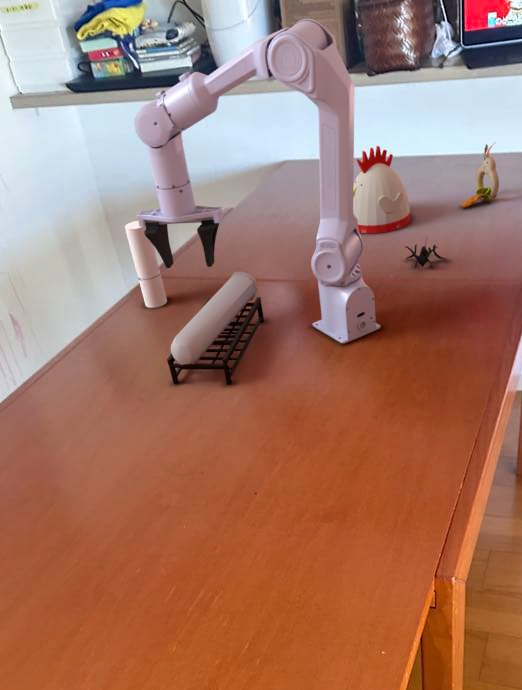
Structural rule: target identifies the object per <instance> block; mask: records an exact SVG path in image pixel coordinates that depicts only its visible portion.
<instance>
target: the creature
mask: <svg viewBox="0 0 522 690" xmlns="http://www.w3.org/2000/svg"><path fill="white" fill-rule="evenodd" d="M425 237H426V239H425V240H427V238H428V236H425ZM417 247H418V246H417V244H416V243H415V244H414V250H413V249H412V248H410V247H409V246H407V245H405V246H404V248H406V249H408V250H409V251H410V253H411V255H408V256H407V257H405V260H409V261H412V258H415V259H413V261H414V262H415V263H414V268H417V265H418V264H419V265H420V266H421V267H422V268H423V267H424V266H425V265H426V264H427V263H429V265H430V268H433V266H434V265H436V264H435V263H436V262H438V260H437V261H436V260H435V261H430V259H429V257H430V255H431V254H432V252H433V255H434V256H435V257H436V258H437V259H440V262H441V261H443V262H444V260H445V261H447V258H446V257H443V256H441V255H439V254H438V253H437V252H436V249H438V246H437V245H436V244H433V246H432V249H431V247H428V249H427V242H425V244H424V245H423V246H422V247H421V248H420V252H419V255H417Z"/></svg>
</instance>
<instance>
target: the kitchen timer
mask: <svg viewBox="0 0 522 690" xmlns="http://www.w3.org/2000/svg"><path fill="white" fill-rule="evenodd" d="M387 153H388V150H386V149H383V150H382V152H381V147H380V146H379V145H376V147H375V150H374V147H370V148H369V156H368V155H367V152H366V151H365V150H362V151H361V155H362V157H361V158H362V159H361V160H362V161H361V160H360V159H358V158H356V163H357V166H358V167H359V169H360V170H361V171H360V172H359V173H358V175H357V176H356V178H355V180H354V186H353V214H354V216H355V217H356V218H357V219H358V231H359V233H360V234H381V233H382V234H384V233H389V232H392V231H396V230H399V229H402V228H404V227H405V226H406V225H408V224H409V223H410V222H411V206H410V200H409V198H408V197H409V196H408V194H407V192H406V189H405V185H404V183H403V181H402V180H401V178H400V177H399V175H398V174H397V172H395V171H394V170H393V168H391V164H392V162H393V156H394V155H393V154H392V153H389V155H388V157H387Z"/></svg>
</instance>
